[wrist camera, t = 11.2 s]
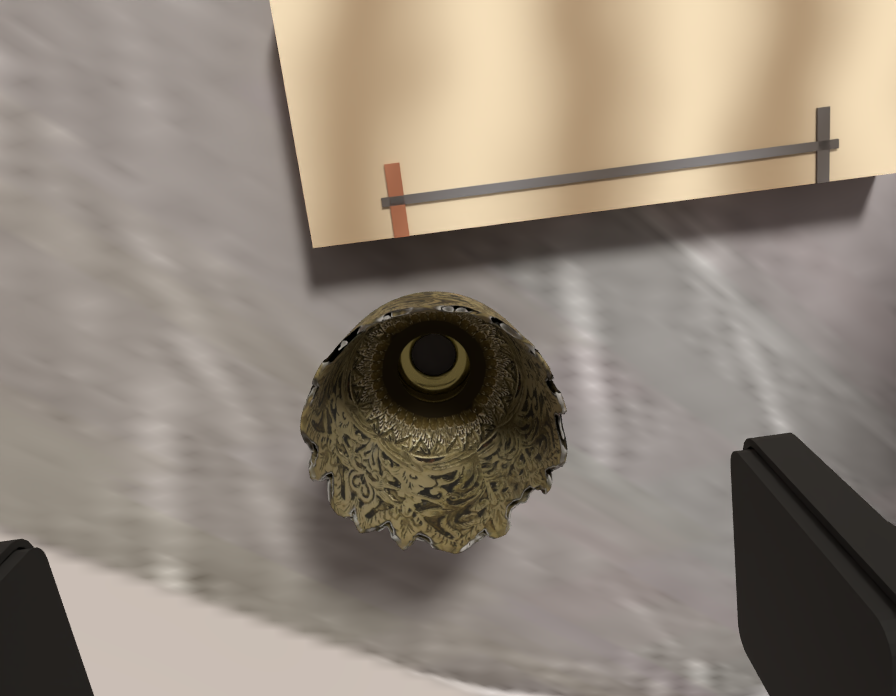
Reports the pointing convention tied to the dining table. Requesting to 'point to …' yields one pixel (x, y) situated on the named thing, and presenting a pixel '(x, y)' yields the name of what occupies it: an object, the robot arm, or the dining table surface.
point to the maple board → (575, 105)
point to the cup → (434, 424)
